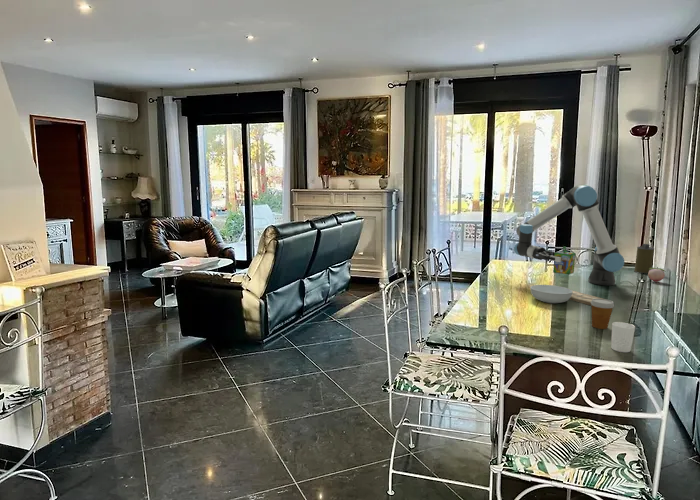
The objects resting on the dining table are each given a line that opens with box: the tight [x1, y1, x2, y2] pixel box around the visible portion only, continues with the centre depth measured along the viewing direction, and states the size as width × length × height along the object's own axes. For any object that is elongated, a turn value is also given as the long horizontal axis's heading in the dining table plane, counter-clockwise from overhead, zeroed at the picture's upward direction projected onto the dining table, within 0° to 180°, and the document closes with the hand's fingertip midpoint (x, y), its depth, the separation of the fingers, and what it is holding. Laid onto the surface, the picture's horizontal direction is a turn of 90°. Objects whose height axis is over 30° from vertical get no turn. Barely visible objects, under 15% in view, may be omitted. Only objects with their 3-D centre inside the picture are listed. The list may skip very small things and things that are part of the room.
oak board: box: [569, 290, 608, 306], centre depth 276 cm, size 14×24×2 cm, turn 29°
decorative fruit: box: [647, 266, 666, 283], centre depth 322 cm, size 9×8×10 cm
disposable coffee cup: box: [590, 298, 615, 330], centre depth 226 cm, size 10×10×12 cm
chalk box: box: [552, 246, 576, 275], centre depth 284 cm, size 9×9×15 cm
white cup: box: [610, 321, 636, 353], centre depth 198 cm, size 8×8×10 cm
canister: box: [633, 243, 655, 274], centre depth 352 cm, size 11×10×20 cm
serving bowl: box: [529, 284, 574, 304], centre depth 268 cm, size 21×21×7 cm
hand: (567, 259), depth 282 cm, fingers closed on chalk box, 11 cm apart
